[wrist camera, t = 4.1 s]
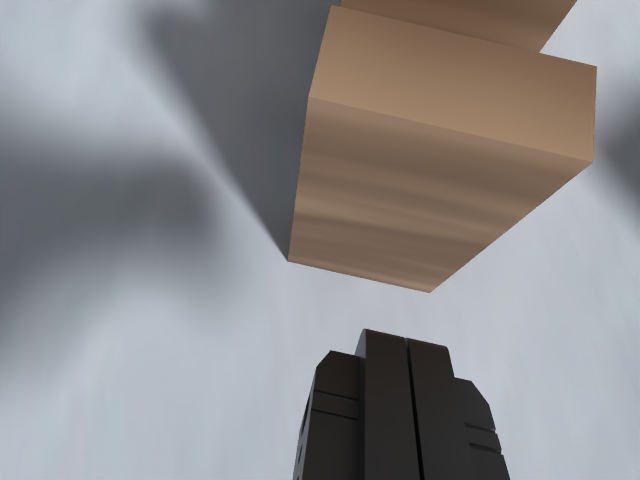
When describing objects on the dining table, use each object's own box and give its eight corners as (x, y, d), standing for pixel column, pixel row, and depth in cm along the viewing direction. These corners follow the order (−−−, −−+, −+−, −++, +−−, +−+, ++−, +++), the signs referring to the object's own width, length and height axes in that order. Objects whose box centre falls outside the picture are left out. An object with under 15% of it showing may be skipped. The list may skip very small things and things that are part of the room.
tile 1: (429, 292, 19) (592, 162, 9) (287, 261, 19) (308, 96, 9) (437, 239, 20) (596, 66, 10) (299, 208, 19) (331, 4, 10)
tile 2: (446, 177, 20) (603, -35, 11) (315, 147, 20) (357, -94, 11) (453, 131, 21) (605, -107, 12) (325, 102, 21) (374, -164, 11)
